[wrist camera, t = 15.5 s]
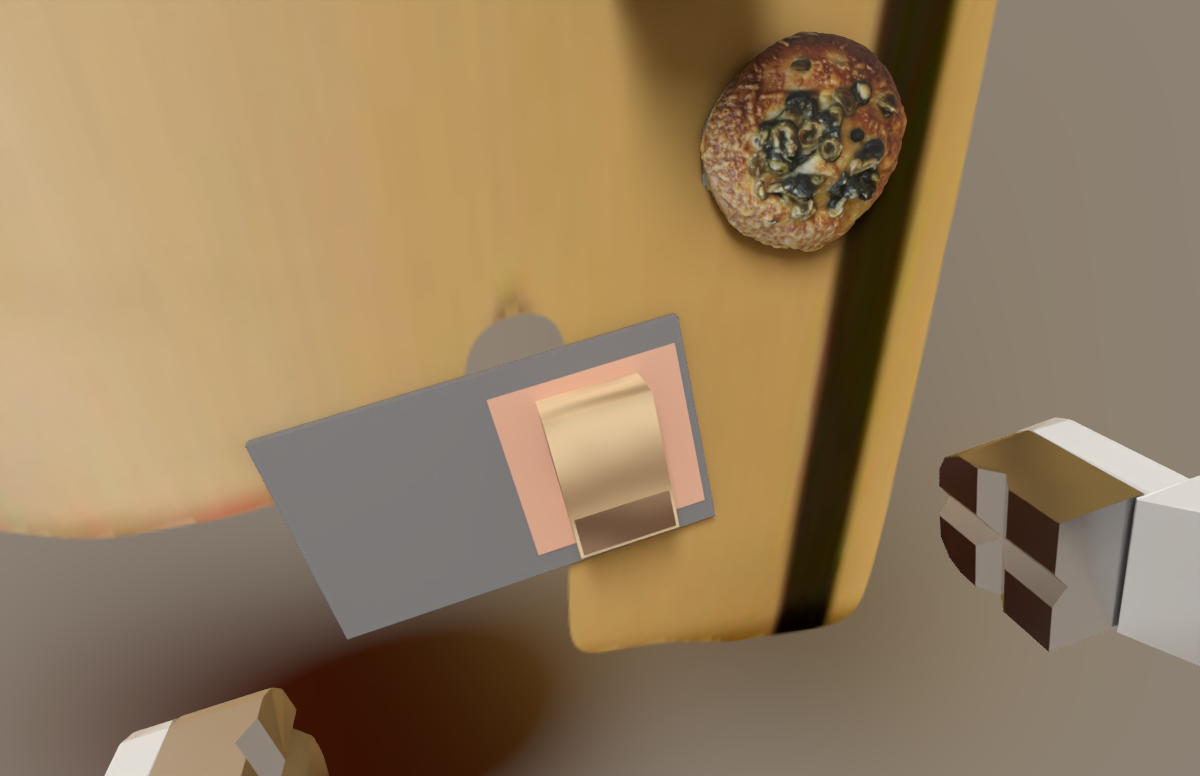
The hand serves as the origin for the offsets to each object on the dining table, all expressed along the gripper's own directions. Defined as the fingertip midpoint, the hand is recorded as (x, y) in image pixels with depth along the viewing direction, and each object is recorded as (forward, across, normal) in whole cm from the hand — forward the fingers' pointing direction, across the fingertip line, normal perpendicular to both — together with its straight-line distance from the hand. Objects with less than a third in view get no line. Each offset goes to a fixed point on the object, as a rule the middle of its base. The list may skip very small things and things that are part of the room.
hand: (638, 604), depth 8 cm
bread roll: (+30, -17, +1) cm, 34 cm away
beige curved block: (+28, -3, +15) cm, 32 cm away
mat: (+29, +3, +15) cm, 33 cm away
